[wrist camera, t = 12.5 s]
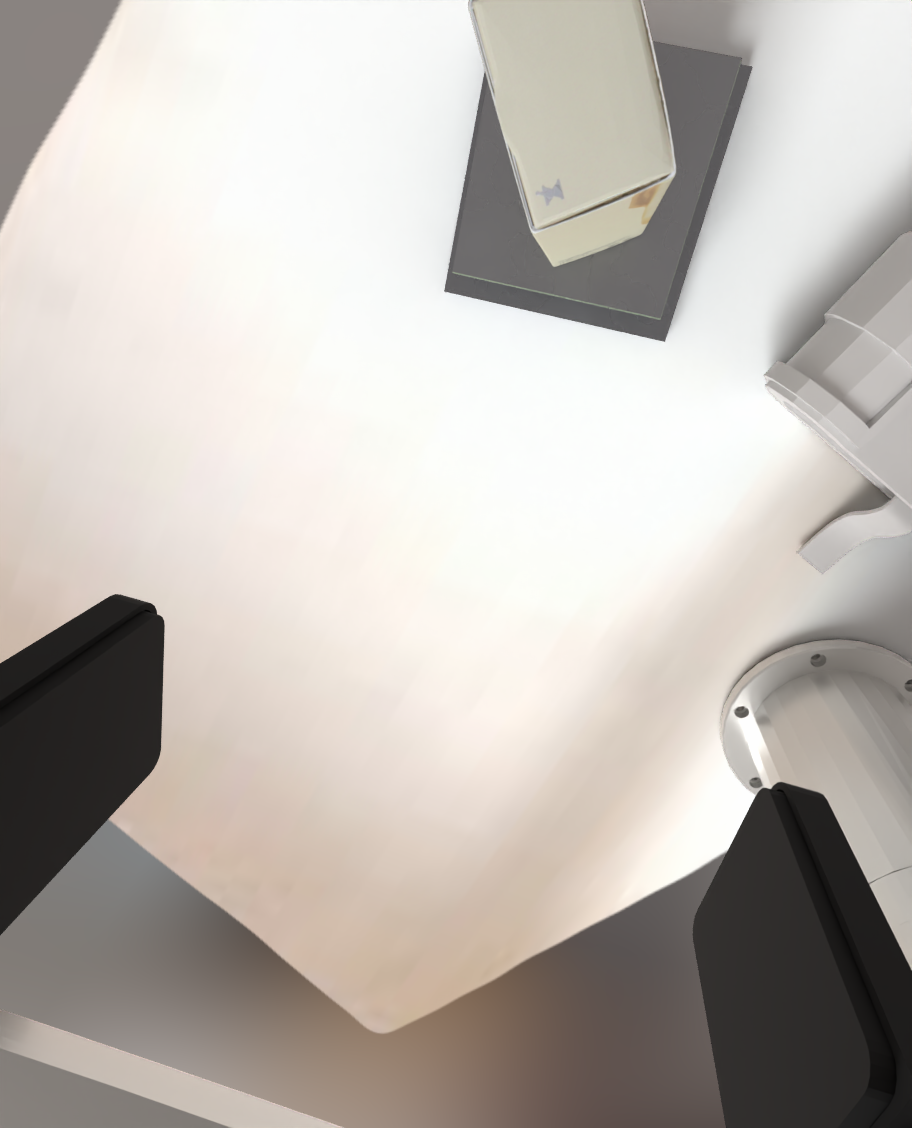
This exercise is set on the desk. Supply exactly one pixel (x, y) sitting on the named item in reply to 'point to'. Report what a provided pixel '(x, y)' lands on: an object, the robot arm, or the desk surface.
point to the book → (860, 398)
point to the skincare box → (578, 117)
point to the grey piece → (627, 270)
